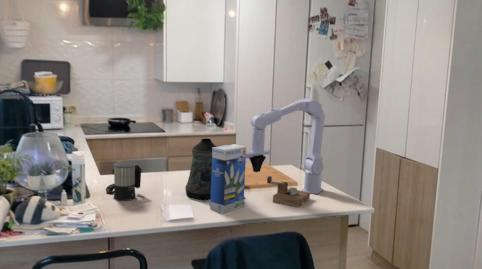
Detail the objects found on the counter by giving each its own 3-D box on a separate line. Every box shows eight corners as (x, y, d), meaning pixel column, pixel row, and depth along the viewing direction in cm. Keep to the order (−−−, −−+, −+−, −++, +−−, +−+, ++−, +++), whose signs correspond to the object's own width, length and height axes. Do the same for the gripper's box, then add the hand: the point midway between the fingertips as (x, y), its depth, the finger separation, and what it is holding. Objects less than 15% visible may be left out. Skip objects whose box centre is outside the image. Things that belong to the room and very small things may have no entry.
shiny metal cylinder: (289, 198, 215) (290, 187, 215) (297, 200, 214) (297, 188, 213) (287, 201, 212) (287, 189, 211) (295, 202, 211) (295, 190, 210)
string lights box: (222, 213, 192) (225, 150, 188) (208, 209, 197) (211, 147, 192) (244, 206, 202) (247, 146, 197) (230, 202, 207) (233, 143, 202)
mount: (284, 194, 222) (285, 179, 221) (309, 198, 217) (310, 183, 216) (272, 202, 210) (273, 186, 208) (298, 207, 205) (300, 190, 203)
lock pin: (268, 182, 218) (268, 175, 218) (284, 185, 215) (285, 178, 214) (266, 183, 217) (266, 176, 216) (283, 186, 213) (283, 179, 213)
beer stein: (191, 202, 205) (192, 144, 201) (179, 189, 223) (180, 135, 218) (227, 199, 211) (230, 142, 207) (213, 186, 229) (215, 134, 224)
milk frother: (129, 202, 201) (130, 167, 199) (95, 198, 204) (94, 164, 202) (143, 192, 215) (143, 160, 212) (110, 189, 218) (110, 157, 215)
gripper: (253, 145, 209) (252, 175, 211) (275, 141, 219) (273, 170, 222) (242, 142, 214) (240, 172, 216) (263, 139, 224) (262, 167, 226)
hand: (256, 171), depth 219 cm, fingers closed
